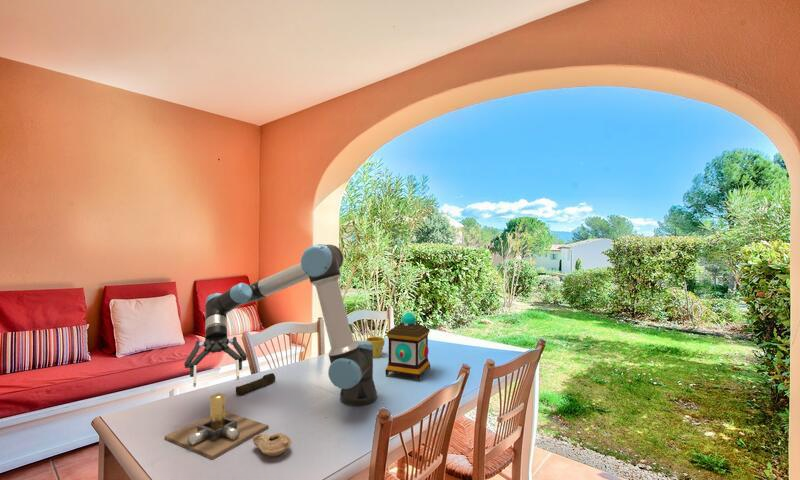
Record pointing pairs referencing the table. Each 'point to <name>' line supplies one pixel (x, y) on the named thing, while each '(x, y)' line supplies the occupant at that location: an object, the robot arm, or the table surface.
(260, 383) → the hand tool
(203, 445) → the mounting board
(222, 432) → the socket housing
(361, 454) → the table surface
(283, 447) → the pottery oil lamp
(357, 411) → the table surface
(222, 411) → the cylinder
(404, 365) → the decorative lantern
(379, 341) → the plant pot
